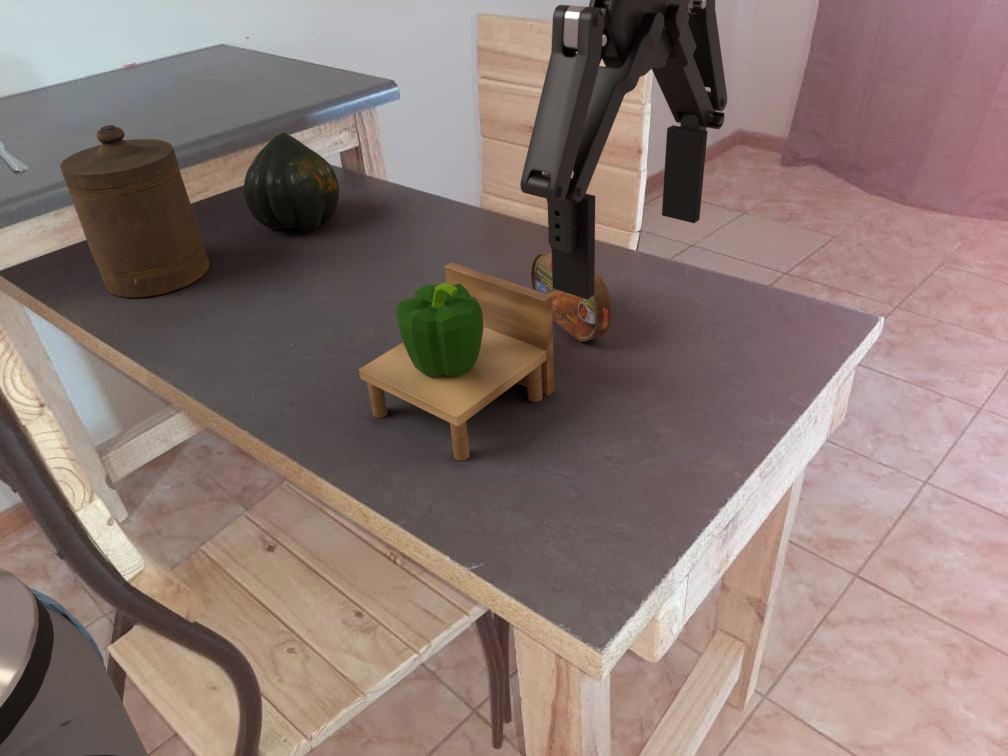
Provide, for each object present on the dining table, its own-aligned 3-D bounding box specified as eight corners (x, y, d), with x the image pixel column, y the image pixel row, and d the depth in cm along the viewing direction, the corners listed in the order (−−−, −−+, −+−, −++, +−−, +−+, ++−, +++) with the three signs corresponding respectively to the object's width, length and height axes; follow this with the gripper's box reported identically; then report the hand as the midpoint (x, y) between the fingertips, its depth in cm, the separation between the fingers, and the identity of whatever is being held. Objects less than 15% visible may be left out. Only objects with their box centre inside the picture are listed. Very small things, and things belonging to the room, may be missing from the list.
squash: (281, 222, 116) (310, 127, 116) (214, 210, 123) (242, 120, 123) (341, 252, 128) (368, 165, 129) (278, 239, 135) (303, 157, 136)
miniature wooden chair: (462, 465, 77) (450, 364, 70) (367, 414, 84) (348, 319, 77) (554, 391, 86) (552, 295, 79) (461, 352, 94) (451, 262, 87)
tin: (530, 302, 103) (527, 244, 98) (550, 296, 104) (549, 237, 99) (593, 354, 91) (593, 291, 87) (615, 346, 93) (617, 284, 88)
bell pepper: (394, 358, 82) (380, 273, 76) (465, 336, 85) (456, 253, 79) (423, 398, 76) (410, 309, 70) (498, 373, 79) (492, 286, 73)
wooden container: (182, 244, 124) (137, 104, 112) (227, 271, 115) (184, 122, 103) (89, 278, 116) (30, 131, 104) (130, 309, 107) (70, 153, 95)
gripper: (564, -90, 31) (569, 350, 44) (808, -132, 47) (761, 202, 59) (431, -90, 36) (469, 312, 48) (695, -129, 51) (673, 183, 63)
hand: (630, 252), depth 53 cm, fingers open, 13 cm apart
